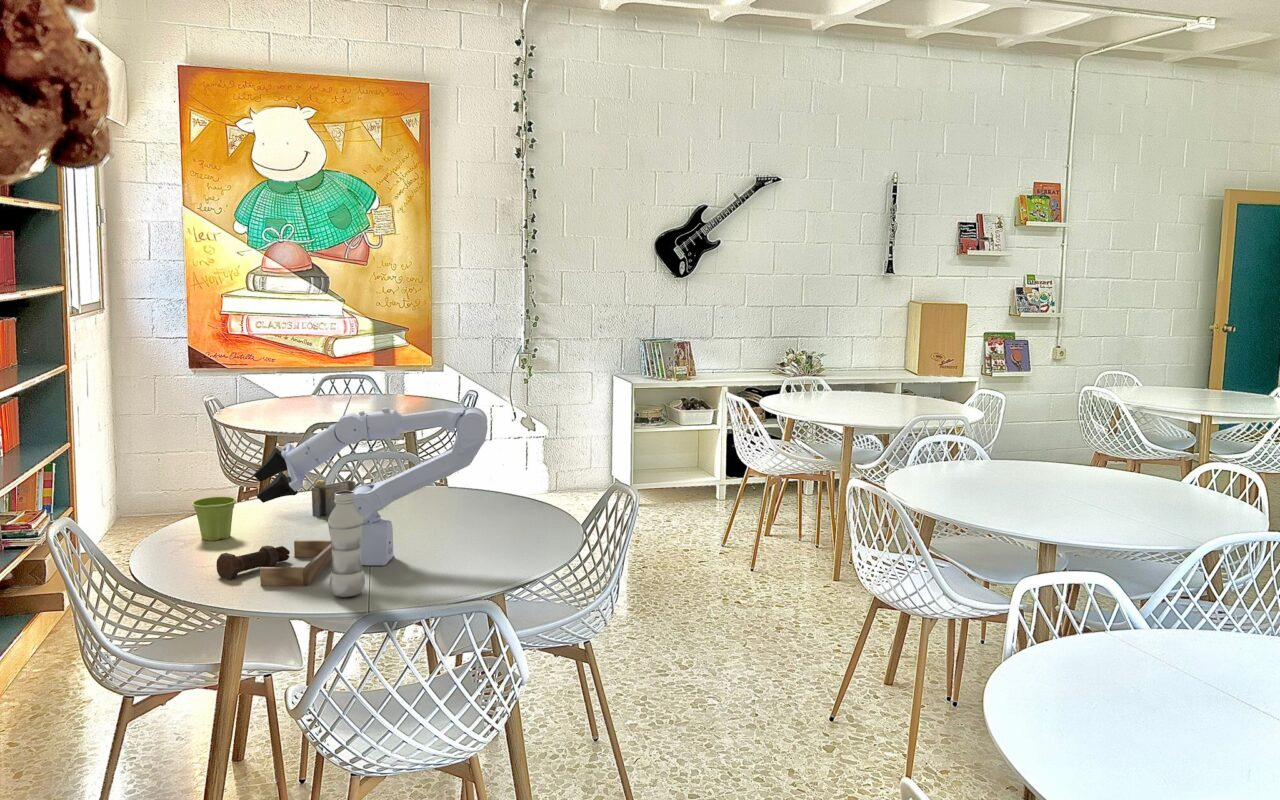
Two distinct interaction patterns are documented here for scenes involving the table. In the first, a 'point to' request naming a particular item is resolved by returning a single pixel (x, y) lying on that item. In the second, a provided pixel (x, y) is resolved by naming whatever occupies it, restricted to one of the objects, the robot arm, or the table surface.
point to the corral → (300, 574)
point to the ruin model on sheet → (327, 495)
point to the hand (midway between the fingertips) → (258, 488)
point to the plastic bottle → (346, 546)
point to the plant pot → (214, 517)
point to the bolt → (250, 561)
